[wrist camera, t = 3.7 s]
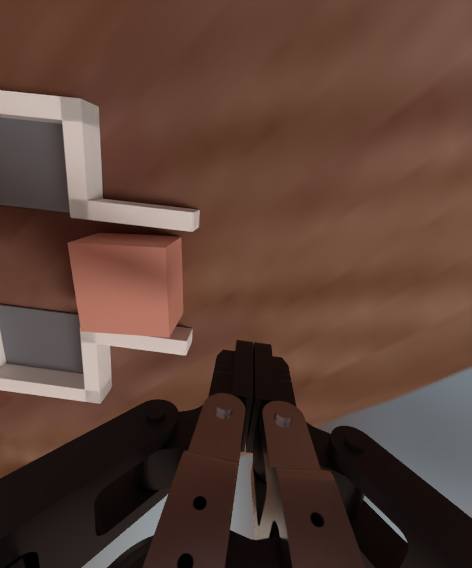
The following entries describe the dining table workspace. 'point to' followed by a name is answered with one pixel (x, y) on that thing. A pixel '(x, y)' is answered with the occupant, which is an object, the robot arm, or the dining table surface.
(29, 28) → the dining table surface
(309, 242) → the dining table surface
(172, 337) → the box
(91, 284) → the block
